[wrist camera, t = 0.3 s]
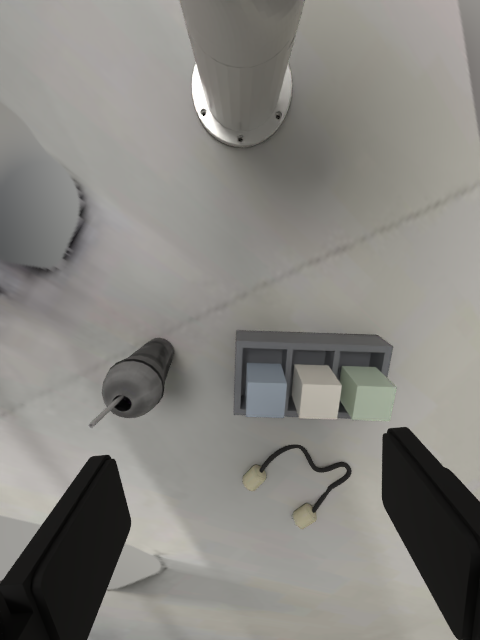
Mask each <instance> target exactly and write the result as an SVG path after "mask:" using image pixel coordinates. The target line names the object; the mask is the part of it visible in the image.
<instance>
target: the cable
mask: <svg viewBox="0 0 480 640" xmlns="http://www.w3.org/2000/svg"><path fill="white" fill-rule="evenodd" d="M293 448H299V449H301V450H302V451H303V453H304V454H305V456H306V458H307V460H308V462H309V464H310V466H311V467H312V469H313V470H314V471H316V472H327V471H331V470H333V469H336V468H338V467H345V468H346V469H347V473H346V474H345V476H343V477H342V478H341V479H339V480H338V481H336V482H334V483H333V484H331V485H330V486H329V487H328V489H327V490H326V492H325V493H324V494H323V495H322V496H321V497H320V499H319V500H318V501H317V503H316V504H315V506H314V507H312V506H311V505H309V504H307V503H306V504H305V505H303V506H302V507H300V508H299V509H297V510H296V511H294V512H293V516H292V519H294V521H295V525H296V526H298V527H299V528H300V529H304V528H305V527H307V526H309V525H310V524H312V523H313V522H315V521H316V519H317V517H316V510H317V509H318V508H319V506H320V505H321V503H322V502H323V500H324V499H325V498H326V496H327V495H328V493H329V492H330V491H331V490H332V489H333V488H335V487H337V486H338V485H340V484H342V483H343V482H344V481H346V480H347V479H348V478H349V477H350V475H351V468H350V466H349V465H348V464H347V463H344V462H340V463H336V464H333V465H331V466H328V467H325V468H317V467H316V466H315V465H314V463H313V461H312V459H311V457H310V455H309V453H308V452H307V450H306V449H305V448H304V447H303V446H301V445H289V446H285V447H283V448H281V449H279V450H278V451H276V452H275V453H274V454H272V455H271V456H270V457H269V458H268V459H267V460H266V461H265V463H264V464H263V465H262V466H259V465H254V466H253V467H252V468H251V469H250V470H249V471H248V472H247V473H246V474H245V475H244V476H243V481H242V482H243V484H244V486H245V488H246V489H248V490H249V491H255V490H256V489H257V488H258V487H259V486H260V485H261V484H262V483H263V482H264V481H265V480H266V473H265V471H264V469H265V468H266V467H267V466H268V464H269V463H270V462H271V461H272V460H273V459H274V458H276V457H277V456H278V455H280V454H281V453H283V452H285V451H287V450H290V449H293Z"/></svg>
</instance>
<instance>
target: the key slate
mask: <svg viewBox="0 0 480 640" xmlns="http://www.w3.org/2000/svg"><path fill="white" fill-rule="evenodd" d="M286 389H287V382H286V379H285V376H284V372H283V369H282V366H281V364H270V363H247V370H246V392H245V394H246V417H274V418H284V412H285V401H286Z"/></svg>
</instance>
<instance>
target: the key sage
mask: <svg viewBox="0 0 480 640" xmlns="http://www.w3.org/2000/svg"><path fill="white" fill-rule="evenodd" d="M340 383H341V385H342V388H341V395H340V401H341V403H342V404H343V406H344V408H345V409H346V411H347V412H348V414H349V416H350V417H351V419H352V420H367V421H390V418H391V413H392V408H393V403H394V398H395V394H396V389H397V387H396V386H395V385H394V384H393V383H392V382H391V381H390V380H389V379H388V378H387V377H386V376H385V375H383V374H382V373H381V372H380V371H379V370H378V369H377V368H376V367H360V366H342V368H341V375H340Z"/></svg>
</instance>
